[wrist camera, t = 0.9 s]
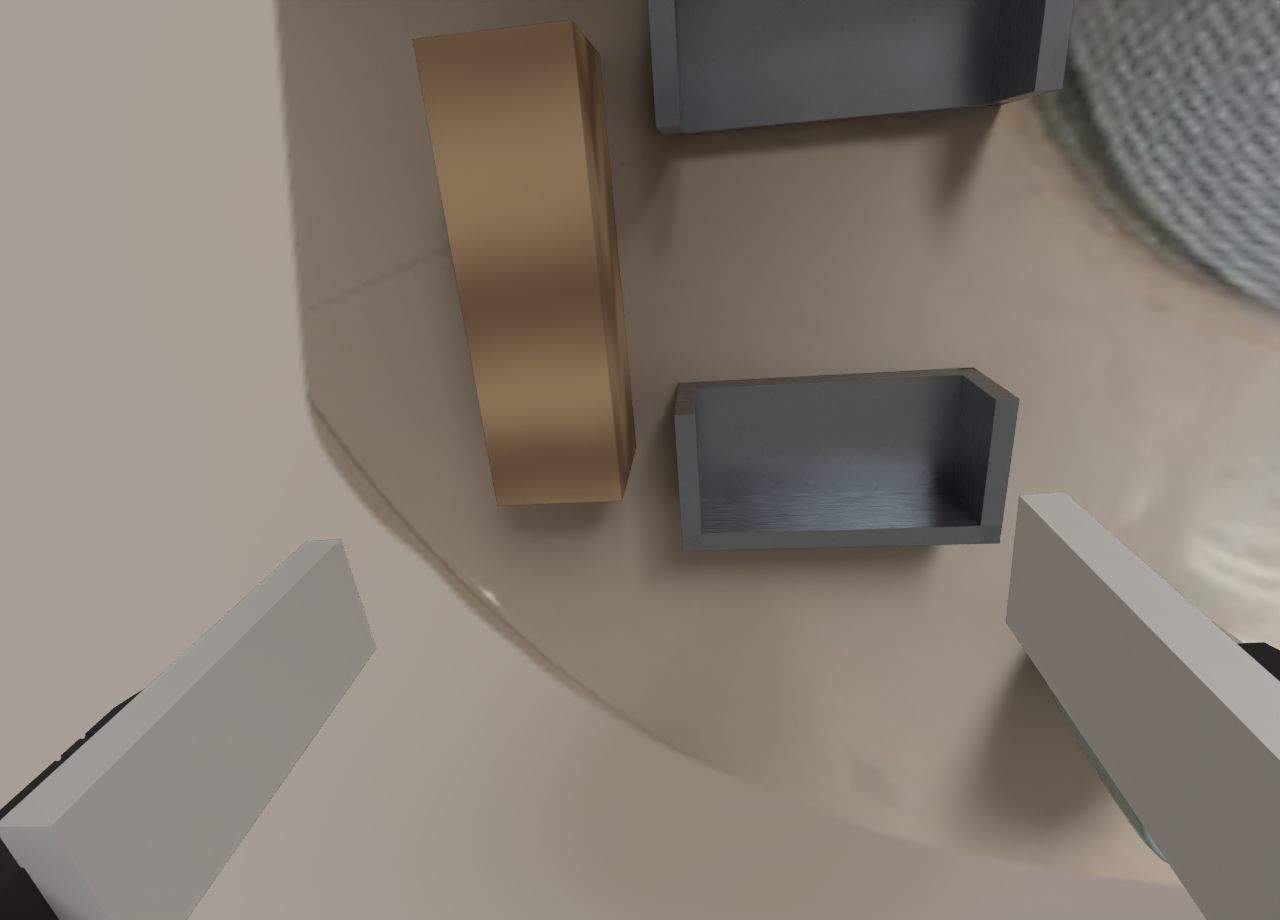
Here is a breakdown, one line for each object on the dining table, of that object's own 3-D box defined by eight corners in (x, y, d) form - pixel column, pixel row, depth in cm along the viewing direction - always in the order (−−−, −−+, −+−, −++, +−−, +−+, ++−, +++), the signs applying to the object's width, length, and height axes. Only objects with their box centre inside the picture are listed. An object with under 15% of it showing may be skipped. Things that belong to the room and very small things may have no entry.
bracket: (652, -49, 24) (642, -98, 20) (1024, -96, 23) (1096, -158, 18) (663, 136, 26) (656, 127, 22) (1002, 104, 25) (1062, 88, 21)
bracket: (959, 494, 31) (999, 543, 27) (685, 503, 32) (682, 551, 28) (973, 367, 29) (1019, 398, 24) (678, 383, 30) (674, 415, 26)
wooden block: (474, 69, 26) (412, 39, 21) (600, 55, 26) (571, 19, 20) (533, 450, 32) (497, 505, 27) (636, 445, 32) (621, 500, 26)
